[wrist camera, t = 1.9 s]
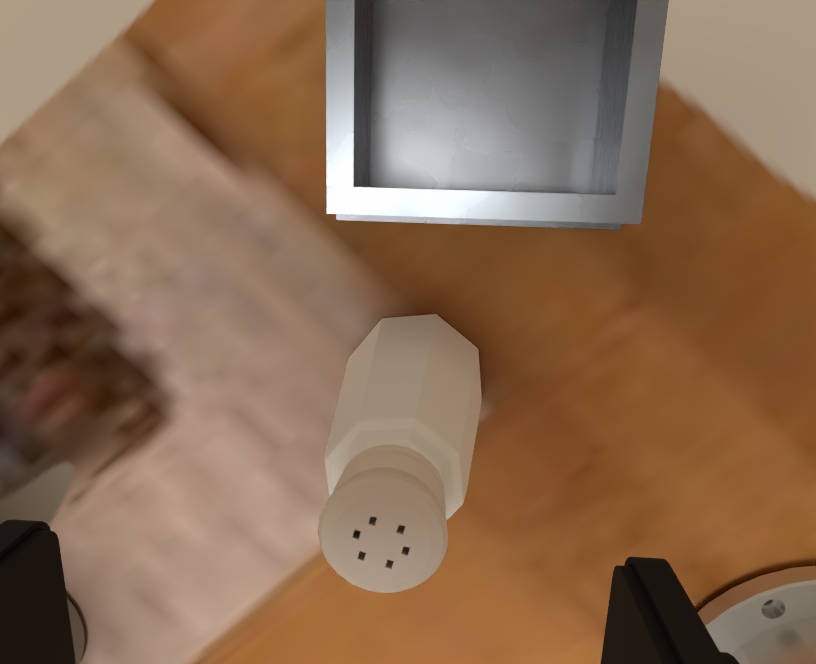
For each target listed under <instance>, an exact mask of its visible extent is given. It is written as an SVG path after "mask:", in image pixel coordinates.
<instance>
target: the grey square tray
mask: <svg viewBox="0 0 816 664" xmlns="http://www.w3.org/2000/svg"><path fill="white" fill-rule="evenodd" d="M668 1H669V0H326V164H327V214H336V220H352V221H381V222H410V223H439V224H468V225H497V226H526V227H555V228H584V229H613V230H621V225H622V224H641V220H642V212H643V204H644V196H645V188H646V179H647V171H648V163H649V155H650V147H651V139H652V131H653V123H654V114H655V106H656V98H657V90H658V82H659V74H660V66H661V58H662V49H663V41H664V33H665V25H666V17H667V9H668Z"/></svg>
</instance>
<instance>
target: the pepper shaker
mask: <svg viewBox="0 0 816 664" xmlns="http://www.w3.org/2000/svg"><path fill="white" fill-rule="evenodd" d="M481 404H482V392H481V379H480V365H479V351H478V348H477V347H476V346H475V345H473V344H472V343H471V342H470V341H468V340H467V339H466V338H465V337H464V336H462V335H461V334H460V333H459V332H458V331H456V330H455V329H454V328H453V327H452V326H450V325H449V324H448V323H447V322H445V321H444V320H443V319H442V318H441V317H439V316H438V315H437V314H430V315H417V316H405V317H392V318H382V319H381V320H380V321H379V322H378V324H377V325H376V326H375V327H374V328H373V330H372V331H371V332H370V333H369V334H368V335H367V337H366V338H365V339H364V340H363V341H362V343H361V344H360V345H359V346H358V347H357V349H356V350H355V351H354V352H353V353H352V355H351V356H350V357H349V358H348V362H347V366H346V370H345V374H344V378H343V382H342V386H341V390H340V394H339V398H338V402H337V407H336V411H335V415H334V419H333V423H332V427H331V431H330V435H329V439H328V443H327V447H326V454H325V468H326V475H327V482H328V489H329V496H330V497H329V499H328V500H327V502H326V504H325V507H324V509H323V511H322V513H321V515H320V520H319V527H318V535H319V542H320V547H321V549H322V551H323V554H324V556H325V558H326V560H327V562H328V563H329V564H330V565H331V566H332V568H333V569H334V570H335V571H336V573H338V574H339V575H340V576H342V577H343V578H344V579H346V580H347V581H348V582H350V583H351V584H353V585H356V586H358V587H360V588H362V589H365V590H369V591H375V592H380V593H385V592H399V591H403V590H406V589H410V588H413V587H415V586H417V585H419V584H420V583H422V582H424V581H426V580H427V579H428V578H429V577H430V576H431V575H432V574H433V573H434V572H435V571H436V570H437V569H438V568H439V566H440V564H441V562H442V560H443V559H444V557H445V554H446V549H447V544H448V533H447V522H446V521H447V520H448V519H449V518H450V517H451V516H452V515H453V514H454V513H455V512H456V511H457V510H458V509H459V508H460V507H461V506H462V505H463V502H464V498H465V495H466V491H467V486H468V480H469V474H470V468H471V462H472V456H473V451H474V445H475V439H476V433H477V427H478V421H479V415H480V409H481Z"/></svg>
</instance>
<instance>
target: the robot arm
mask: <svg viewBox="0 0 816 664" xmlns="http://www.w3.org/2000/svg"><path fill="white" fill-rule="evenodd" d="M0 664H76V660H75V652H74V645H73V638H72V631H71V624H70V617H69V610H68V603H67V596H66V589H65V582H64V575H63V568H62V561H61V554H60V547H59V540H58V536H57V534H56V533H55V532H53V531H51V530H50V527H49V526H48V525H47V523H45V522H42V521H25V520H7V521H5V522H3V523H2V524H0ZM601 664H816V566H806V567H795V568H789V569H785V570H781V571H777V572H773V573H769V574H765V575H761V576H759V577H757V578H754V579H752V580H749V581H747V582H745V583H742V584H740V585H738V586H735V587H733V588H731V589H730V590H728V591H727V592H725V593H723V594H722V595H720V596H719V597H717V598H715V599H714V600H712V601H711V602H709V603H708V604H706V605H705V606H704V607H703V608H702V609H701V610H700V611H699V612H698V613H697V611H696V609H695V608H694V606H693V604H692V603H691V601H690V599H689V597H688V596H687V594H686V592H685V590H684V589H683V587H682V585H681V584H680V582H679V580H678V578H677V577H676V575H675V573H674V571H673V570H672V568H671V566H670V564H669V563H668V562H667V561H666V560H665V559H657V558H641V557H629V558H627V560H626V562H625V566H615V568H614V572H613V578H612V585H611V592H610V600H609V607H608V614H607V622H606V629H605V636H604V644H603V651H602V658H601Z"/></svg>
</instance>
